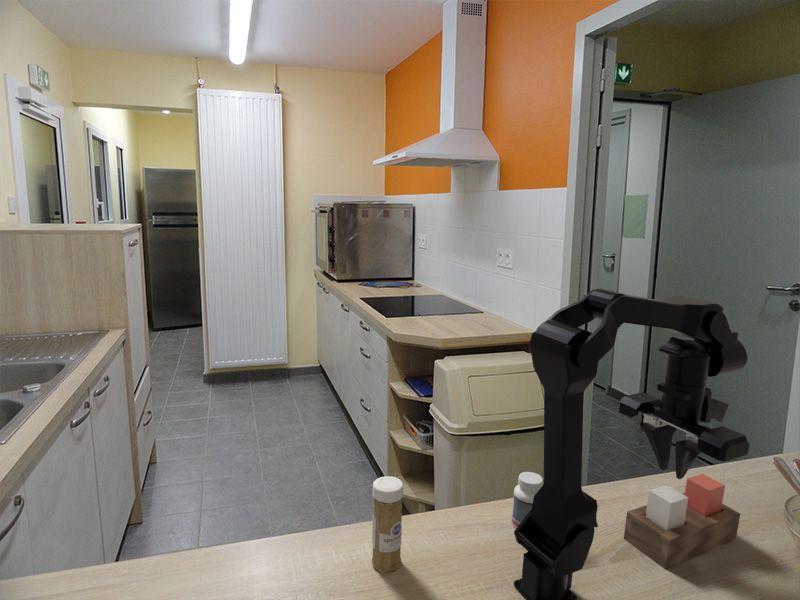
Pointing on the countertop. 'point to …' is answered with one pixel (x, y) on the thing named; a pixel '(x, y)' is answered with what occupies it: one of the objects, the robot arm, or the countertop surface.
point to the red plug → (704, 495)
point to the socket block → (681, 535)
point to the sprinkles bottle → (387, 523)
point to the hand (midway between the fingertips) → (671, 473)
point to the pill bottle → (524, 495)
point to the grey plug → (666, 507)
